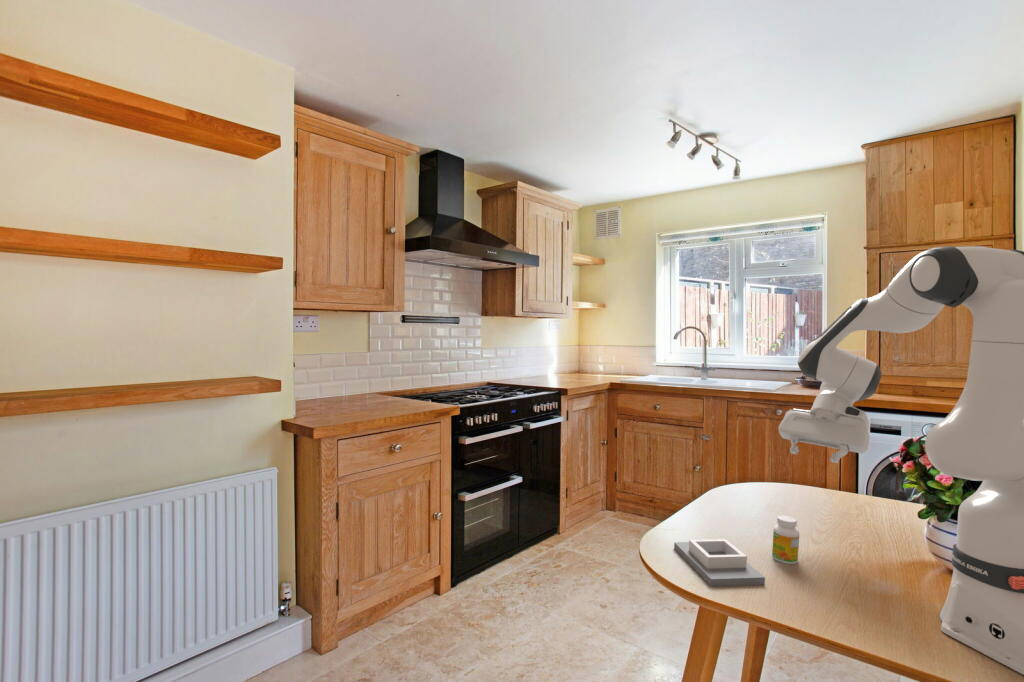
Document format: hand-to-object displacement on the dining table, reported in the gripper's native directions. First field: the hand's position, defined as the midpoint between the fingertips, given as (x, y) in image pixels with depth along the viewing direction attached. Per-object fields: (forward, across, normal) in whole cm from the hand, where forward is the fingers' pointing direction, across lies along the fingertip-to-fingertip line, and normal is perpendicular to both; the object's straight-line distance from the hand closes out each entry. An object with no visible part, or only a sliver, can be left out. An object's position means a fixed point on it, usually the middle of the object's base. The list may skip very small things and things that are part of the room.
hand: (813, 456), depth 133 cm
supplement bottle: (+26, 0, +5) cm, 27 cm away
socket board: (+37, -8, -6) cm, 39 cm away
